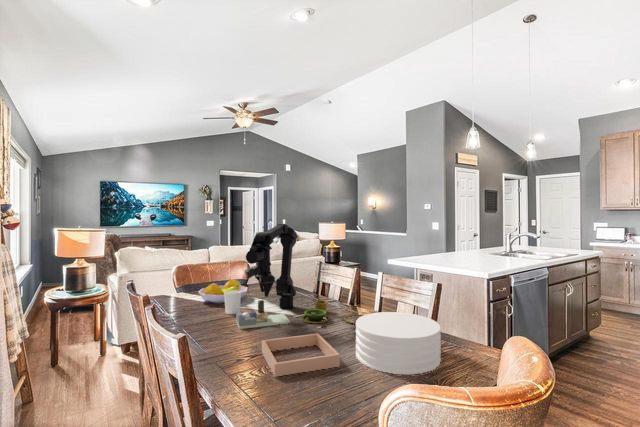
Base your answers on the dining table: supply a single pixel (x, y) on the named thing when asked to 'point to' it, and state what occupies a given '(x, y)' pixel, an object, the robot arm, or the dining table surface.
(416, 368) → the plate stack
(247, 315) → the ball
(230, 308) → the white cup
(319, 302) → the tableware set
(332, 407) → the dining table surface
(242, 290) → the fruit bowl
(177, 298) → the dining table surface
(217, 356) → the dining table surface
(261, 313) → the sled
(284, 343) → the rectangular frame
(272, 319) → the pitch
